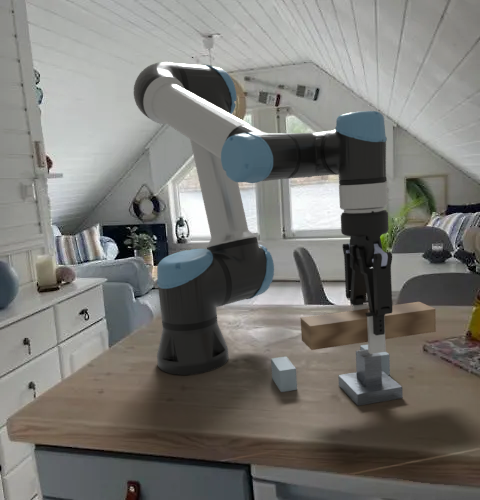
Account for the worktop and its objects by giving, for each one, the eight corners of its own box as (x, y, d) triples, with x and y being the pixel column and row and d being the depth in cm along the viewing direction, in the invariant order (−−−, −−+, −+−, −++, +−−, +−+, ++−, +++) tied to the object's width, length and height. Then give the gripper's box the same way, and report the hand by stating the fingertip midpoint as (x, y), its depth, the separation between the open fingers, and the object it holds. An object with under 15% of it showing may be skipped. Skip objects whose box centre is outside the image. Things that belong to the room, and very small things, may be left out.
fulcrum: (357, 405, 80) (356, 365, 79) (338, 385, 88) (337, 348, 87) (402, 398, 82) (401, 358, 81) (380, 378, 89) (379, 342, 88)
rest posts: (281, 392, 87) (279, 370, 86) (272, 378, 93) (270, 358, 92) (389, 374, 91) (389, 354, 90) (375, 362, 97) (374, 343, 96)
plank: (311, 350, 79) (310, 326, 78) (301, 340, 83) (300, 317, 83) (435, 331, 83) (435, 308, 82) (419, 323, 87) (419, 301, 87)
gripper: (414, 211, 72) (418, 362, 75) (361, 205, 89) (366, 328, 93) (367, 216, 70) (373, 369, 74) (322, 209, 88) (328, 333, 91)
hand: (369, 346), depth 83 cm, fingers closed on plank, 5 cm apart
